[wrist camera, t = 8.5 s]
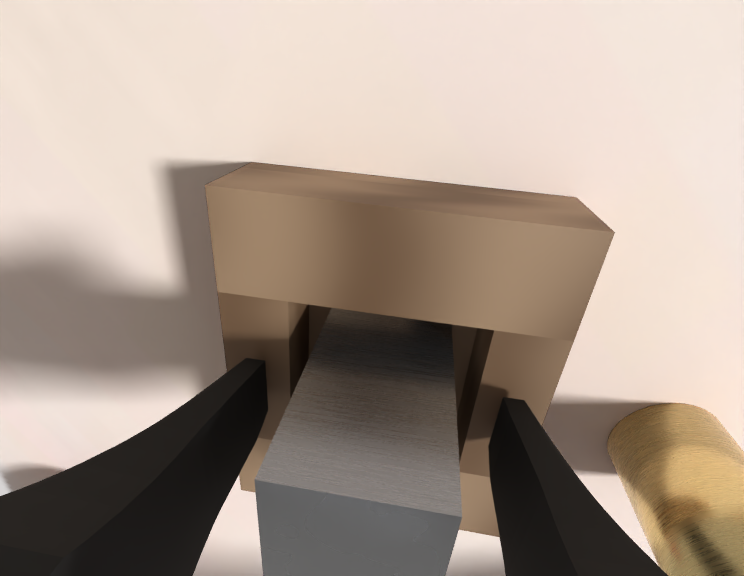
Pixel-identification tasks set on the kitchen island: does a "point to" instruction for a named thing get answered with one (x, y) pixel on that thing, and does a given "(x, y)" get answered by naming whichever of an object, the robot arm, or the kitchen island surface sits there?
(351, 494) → the square bit
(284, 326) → the socket block
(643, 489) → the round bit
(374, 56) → the kitchen island surface
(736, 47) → the kitchen island surface
